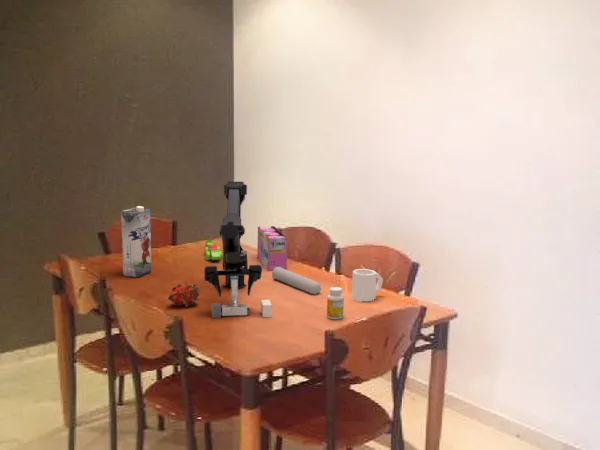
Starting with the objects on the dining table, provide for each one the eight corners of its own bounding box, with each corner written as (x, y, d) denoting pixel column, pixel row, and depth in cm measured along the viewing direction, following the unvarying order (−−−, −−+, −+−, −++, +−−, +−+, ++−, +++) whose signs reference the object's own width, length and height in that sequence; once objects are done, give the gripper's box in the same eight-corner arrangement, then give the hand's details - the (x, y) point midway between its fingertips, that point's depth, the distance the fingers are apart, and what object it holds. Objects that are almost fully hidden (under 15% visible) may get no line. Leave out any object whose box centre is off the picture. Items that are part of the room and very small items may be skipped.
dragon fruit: (202, 306, 258) (171, 317, 251) (190, 288, 262) (160, 299, 255) (207, 292, 252) (175, 303, 245) (195, 273, 256) (163, 283, 249)
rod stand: (212, 318, 242) (212, 306, 241) (211, 314, 245) (211, 303, 244) (250, 316, 244) (250, 305, 243) (248, 313, 247) (248, 302, 246)
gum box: (256, 256, 322) (256, 225, 319) (273, 255, 324) (274, 225, 321) (268, 271, 299) (268, 238, 296) (287, 270, 301) (287, 237, 298)
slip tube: (222, 315, 243) (222, 277, 240) (221, 313, 245) (221, 275, 243) (246, 314, 244) (247, 276, 241) (246, 312, 247) (246, 274, 244)
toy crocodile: (223, 263, 309) (223, 249, 308) (207, 264, 308) (207, 249, 307) (218, 252, 328) (218, 238, 327) (203, 252, 327) (203, 239, 326)
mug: (361, 303, 260) (362, 276, 258) (346, 296, 267) (347, 270, 265) (388, 298, 266) (389, 272, 264) (373, 292, 273) (374, 266, 271)
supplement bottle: (325, 314, 248) (326, 286, 246) (341, 314, 248) (342, 286, 246) (327, 319, 243) (328, 291, 241) (344, 319, 243) (345, 290, 241)
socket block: (263, 317, 243) (263, 305, 243) (260, 311, 249) (260, 299, 248) (271, 317, 244) (271, 305, 243) (269, 311, 250) (269, 299, 249)
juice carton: (119, 276, 287) (117, 207, 282) (135, 269, 297) (133, 203, 291) (139, 278, 284) (137, 209, 278) (154, 272, 294) (153, 204, 288)
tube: (325, 283, 270) (284, 267, 289) (314, 281, 267) (274, 265, 286) (321, 297, 270) (280, 280, 290) (310, 295, 267) (270, 278, 286)
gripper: (204, 242, 242) (206, 284, 234) (261, 241, 246) (265, 282, 237) (203, 259, 251) (205, 300, 243) (258, 258, 255) (262, 299, 246)
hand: (234, 295), depth 242 cm, fingers open, 9 cm apart
